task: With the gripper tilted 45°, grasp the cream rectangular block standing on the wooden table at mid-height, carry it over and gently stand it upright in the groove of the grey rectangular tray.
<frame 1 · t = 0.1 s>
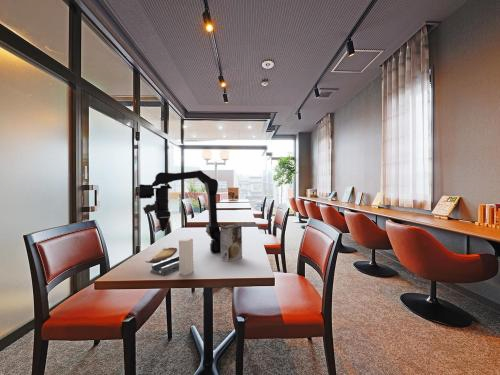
hand: (162, 229, 117), 15 cm above the table, tool pointing down, fingers open, 9 cm apart
parchment: (164, 255, 124), on the table
coffee box: (231, 258, 117), on the table
cream rectangular block: (186, 272, 99), on the table
grey rectangular tray: (166, 270, 102), on the table
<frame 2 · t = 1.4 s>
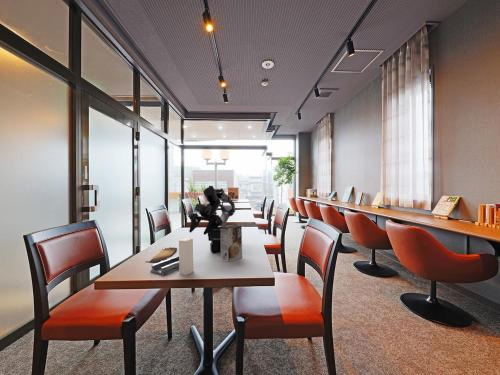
hand: (196, 233, 113), 13 cm above the table, tool tilted 45°, fingers open, 9 cm apart
nothing on the table moved.
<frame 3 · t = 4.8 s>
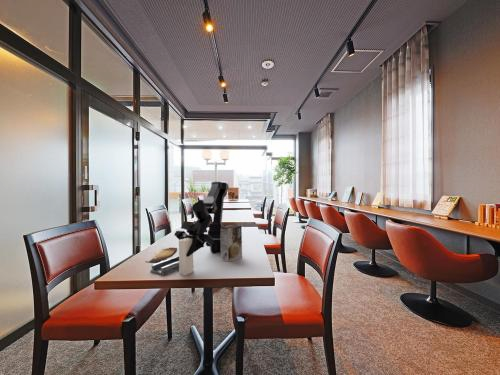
hand: (183, 255, 97), 8 cm above the table, tool tilted 45°, fingers closed on cream rectangular block, 3 cm apart
cream rectangular block: (186, 272, 99), on the table, touching gripper
everything else where it was.
when the fingers open (10 cm above the table, at t = 8.5 s): cream rectangular block drops 1 cm, resting on grey rectangular tray.
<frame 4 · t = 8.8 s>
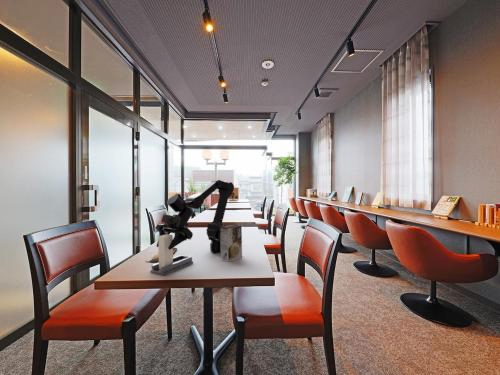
hand: (163, 247, 100), 10 cm above the table, tool tilted 45°, fingers open, 7 cm apart
cream rectangular block: (165, 267, 102), point 1 cm above the table, touching grey rectangular tray
everything else where it was.
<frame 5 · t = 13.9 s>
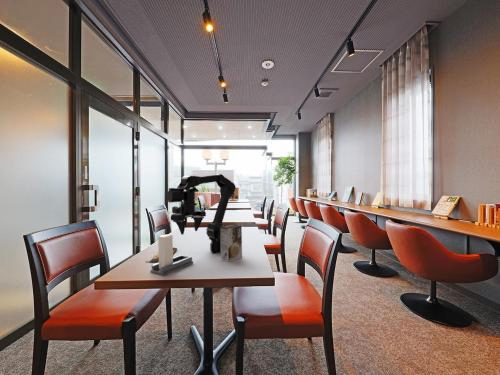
hand: (189, 232, 116), 13 cm above the table, tool pointing down, fingers open, 9 cm apart
nothing on the table moved.
at the end: cream rectangular block 0.1 cm off-centre on the grey rectangular tray, point 1.0 cm above the grey rectangular tray's base; cream rectangular block tilted 0°; the gripper is holding nothing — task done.
